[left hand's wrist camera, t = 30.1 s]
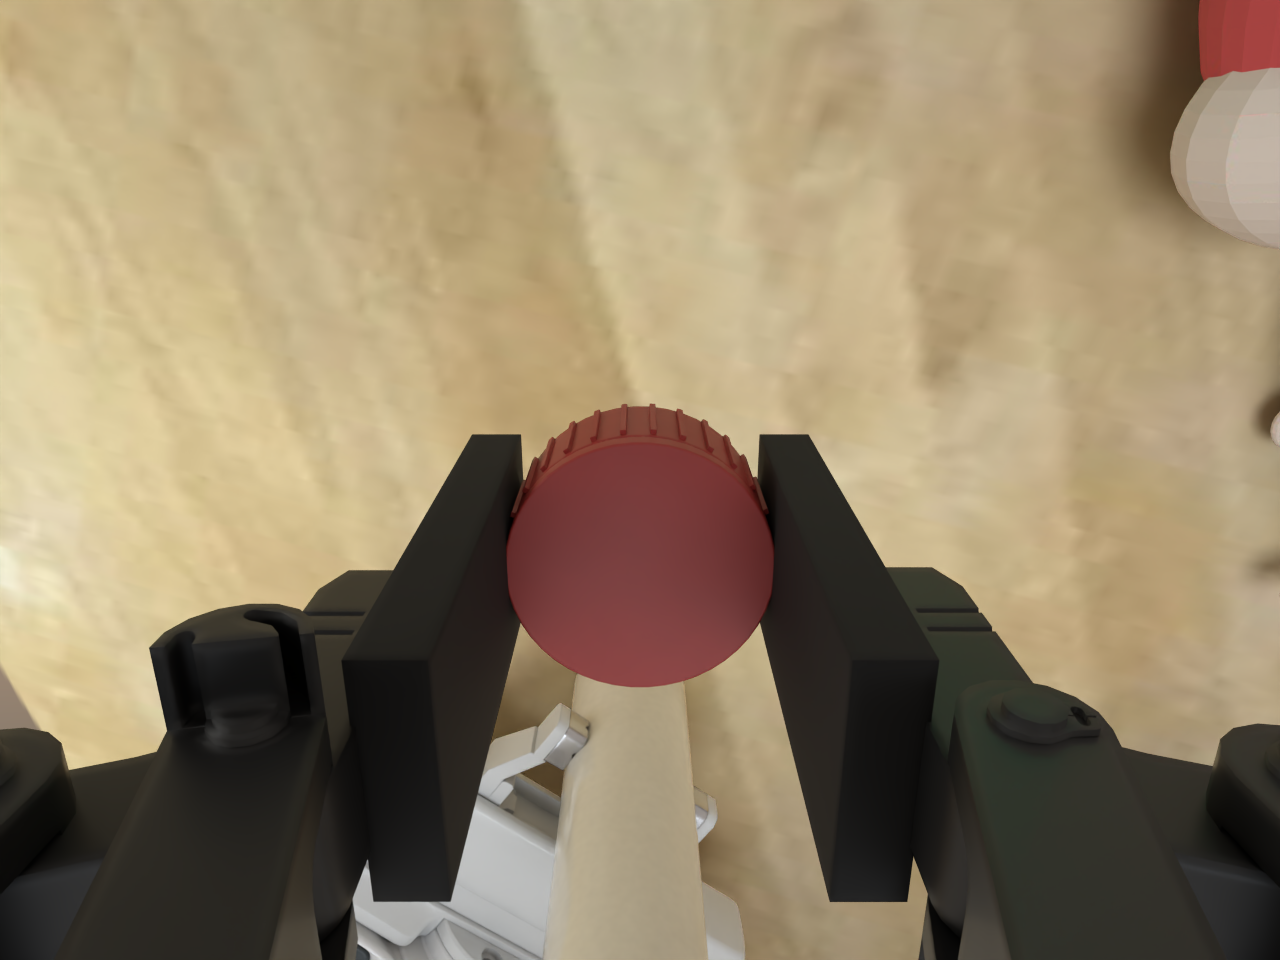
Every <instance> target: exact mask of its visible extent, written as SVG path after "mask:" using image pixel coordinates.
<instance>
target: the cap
mask: <svg viewBox="0 0 1280 960" xmlns="http://www.w3.org/2000/svg"><path fill="white" fill-rule="evenodd" d="M766 514H769V511H768V508H767V505H766V502H765V500H764V497H763V494H762V491H761V488H760V485H759V483H758V480H757V477H752V474H751V471H750V468H749V465H748V462H747V459H746V457H745V456H744V454H743V455H741V456H740V455H739V454H738V453H737V451H736V450H735V449H734V447H733V446H732V445H731V442H730V439H729V437H728V436H727V435H724V436H721V435H720V434H719V433H717V432H716V431H715V430H713V429H712V428H711V427H709V425H708V422H707V421H706V420H704V419H703V420H702V421H701V422H700V421H699V420H697V419H695V418H692V417H690V416H687V415H685V414H683V410H681V409H677V411H672V410H668V409H663V408H656V407H655V404H650V406H649V407H627V404H622V407H621V408H616V409H612V410H608V411H605V412H600V410H597V411H595V412H594V415H593V416H590V417H588V418H585V419H584V420H582V421H580V422H578V423H575V421H573V422H571V423H570V425H569V428H568V429H567V430H566V431H564V432H563V433H562V434H560V435H559V436H558V437H557V438H556V439H554V438H553V437H552V438H551V439H550V440H549V441H548V445H547V448H546V449H545V451H544V452H543V453H542V454H541V456H540V457H539V458H536V457H535V458H534V459H533V461H532V464H531V466H530V469H529V472H528V475H527V478H526V480H523V481H522V484H521V487H520V489H519V492H518V495H517V498H516V501H515V504H514V506H513V509H512V512H511V515H510V517H512V518H514V520H513V523H512V525H511V528H510V532H509V536H508V540H507V544H506V554H507V573H508V589H509V597H510V600H511V603H512V605H513V608H514V610H515V612H516V614H517V616H518V618H519V620H520V622H521V624H522V625H523V627H524V628H525V630H526V631H527V632H528V634H529V635H530V637H531V638H532V639H533V640H534V641H535V642H536V643H537V644H538V646H539V647H540V648H541V649H542V650H543V651H545V652H546V653H547V654H548V655H549V656H551V657H552V658H553V659H554V660H556V661H557V662H559V663H560V664H562V665H563V666H565V667H566V668H568V669H570V670H572V671H574V672H576V673H578V674H580V675H582V676H584V677H587V678H590V679H593V680H596V681H598V682H603V683H607V684H611V685H617V686H625V687H655V686H665V685H669V684H674V683H678V682H682V681H685V680H688V679H690V678H693V677H696V676H698V675H700V674H703V673H705V672H707V671H709V670H711V669H712V668H714V667H716V666H717V665H719V664H720V663H722V662H723V661H725V660H726V659H727V658H729V657H730V656H731V655H732V654H733V653H735V652H736V651H737V650H738V649H739V648H740V647H741V646H742V645H743V644H744V643H745V642H746V641H747V640H748V638H749V637H750V636H751V634H752V633H753V632H754V630H755V629H756V627H757V626H758V625H759V623H760V621H761V619H762V617H763V615H764V613H765V611H766V609H767V606H768V604H769V601H770V598H771V595H772V583H773V567H774V543H773V538H772V534H771V530H770V527H769V525H768V521H767V519H766V516H765V515H766Z"/></svg>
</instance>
